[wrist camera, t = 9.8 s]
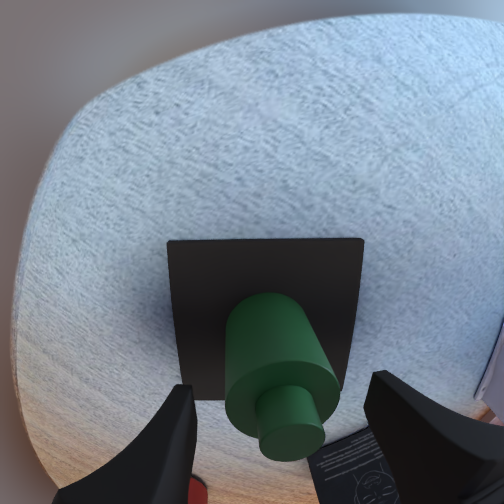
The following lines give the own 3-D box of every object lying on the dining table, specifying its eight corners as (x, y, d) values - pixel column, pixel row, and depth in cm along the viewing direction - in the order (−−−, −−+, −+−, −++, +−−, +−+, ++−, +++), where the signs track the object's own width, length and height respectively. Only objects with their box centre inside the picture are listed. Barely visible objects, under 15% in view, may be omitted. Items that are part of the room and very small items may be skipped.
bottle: (303, 359, 17) (343, 468, 9) (227, 363, 17) (228, 480, 9) (309, 290, 16) (369, 389, 8) (224, 292, 16) (221, 403, 8)
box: (321, 479, 22) (348, 571, 12) (304, 452, 20) (333, 564, 10) (401, 444, 21) (446, 528, 11) (396, 411, 20) (455, 510, 10)
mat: (340, 386, 18) (342, 391, 18) (186, 395, 18) (185, 400, 17) (361, 237, 16) (365, 239, 15) (168, 240, 15) (166, 242, 15)
